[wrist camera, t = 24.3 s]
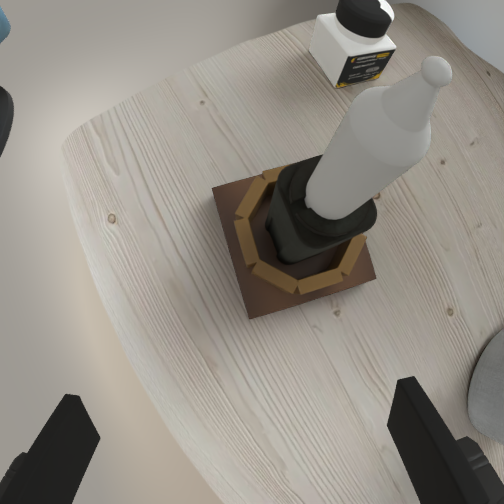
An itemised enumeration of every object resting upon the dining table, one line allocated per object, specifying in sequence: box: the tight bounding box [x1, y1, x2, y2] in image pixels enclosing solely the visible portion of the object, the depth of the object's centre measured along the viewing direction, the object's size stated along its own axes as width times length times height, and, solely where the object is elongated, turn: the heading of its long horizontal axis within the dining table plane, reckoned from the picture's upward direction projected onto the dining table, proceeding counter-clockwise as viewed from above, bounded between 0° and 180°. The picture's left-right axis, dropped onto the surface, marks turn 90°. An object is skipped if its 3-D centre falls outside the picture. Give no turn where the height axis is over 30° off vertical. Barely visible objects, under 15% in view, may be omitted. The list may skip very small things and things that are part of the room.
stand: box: [212, 164, 376, 319], centre depth 30 cm, size 13×13×6 cm
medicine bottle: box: [309, 0, 396, 88], centre depth 29 cm, size 7×7×12 cm
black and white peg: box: [265, 56, 452, 265], centre depth 18 cm, size 5×5×25 cm
